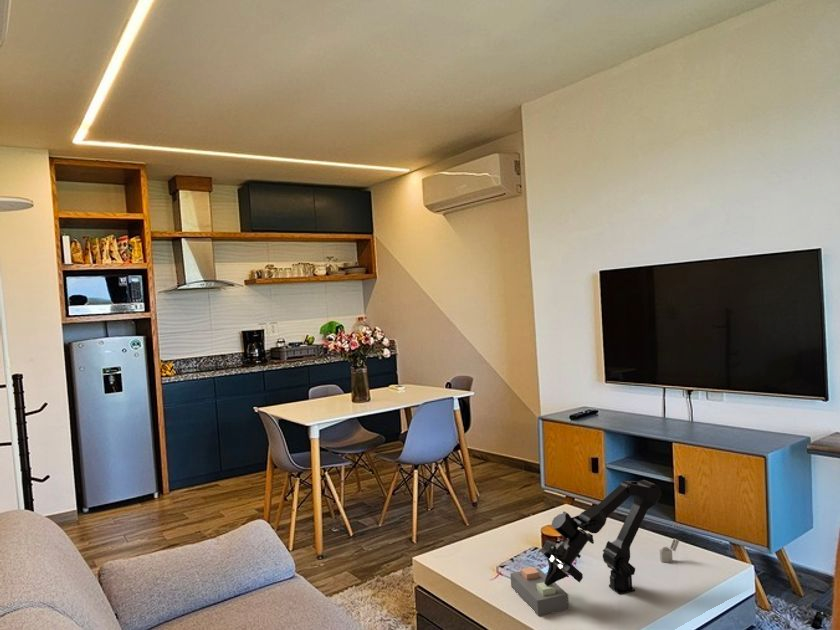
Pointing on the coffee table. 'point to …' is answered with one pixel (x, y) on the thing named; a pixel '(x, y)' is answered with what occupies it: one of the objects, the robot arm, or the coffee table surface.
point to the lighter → (668, 552)
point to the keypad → (534, 598)
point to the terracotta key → (529, 573)
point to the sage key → (546, 589)
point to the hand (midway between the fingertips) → (545, 584)
